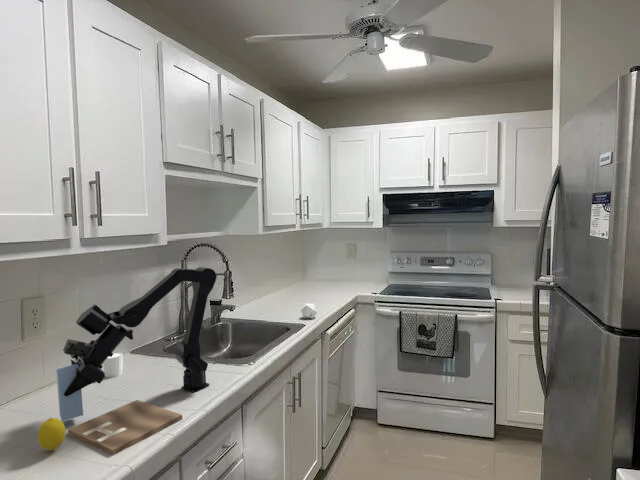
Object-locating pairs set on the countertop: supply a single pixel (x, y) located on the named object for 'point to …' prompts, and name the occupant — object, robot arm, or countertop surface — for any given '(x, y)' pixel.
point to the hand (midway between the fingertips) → (63, 392)
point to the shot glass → (113, 365)
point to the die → (309, 311)
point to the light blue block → (73, 402)
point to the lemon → (51, 434)
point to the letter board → (124, 426)
